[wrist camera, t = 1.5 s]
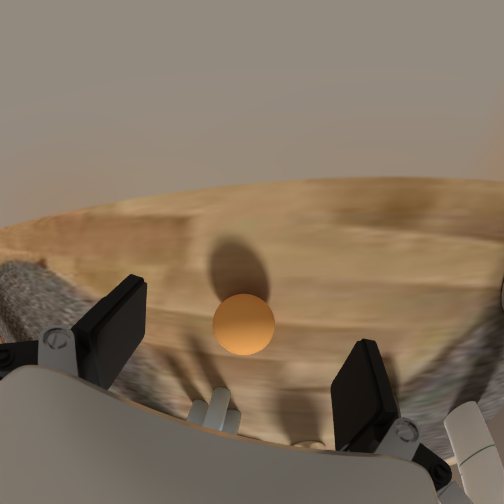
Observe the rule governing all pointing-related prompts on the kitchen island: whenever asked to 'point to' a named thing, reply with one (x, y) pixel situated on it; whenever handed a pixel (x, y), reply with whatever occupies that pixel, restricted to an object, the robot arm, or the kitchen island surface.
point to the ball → (243, 324)
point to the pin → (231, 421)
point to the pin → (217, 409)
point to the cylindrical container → (475, 455)
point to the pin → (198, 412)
